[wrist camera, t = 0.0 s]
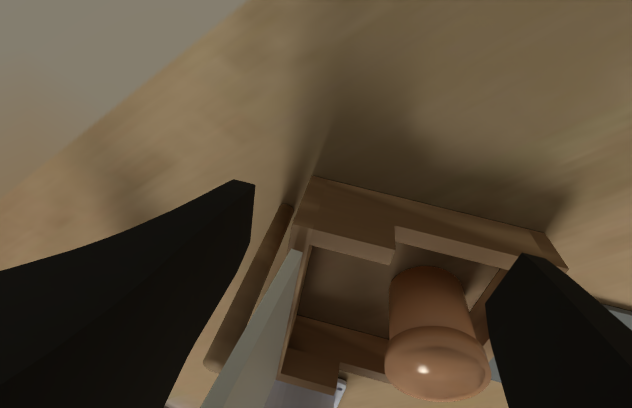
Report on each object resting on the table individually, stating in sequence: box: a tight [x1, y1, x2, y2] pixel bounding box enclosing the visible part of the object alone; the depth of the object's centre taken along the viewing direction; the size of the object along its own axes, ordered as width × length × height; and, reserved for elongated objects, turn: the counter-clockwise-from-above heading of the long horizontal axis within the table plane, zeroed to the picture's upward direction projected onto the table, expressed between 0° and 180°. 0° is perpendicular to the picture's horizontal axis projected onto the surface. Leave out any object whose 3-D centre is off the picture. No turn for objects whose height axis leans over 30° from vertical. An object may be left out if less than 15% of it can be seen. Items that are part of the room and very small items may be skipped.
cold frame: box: [203, 176, 569, 402], centre depth 19 cm, size 14×16×11 cm
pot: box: [385, 266, 491, 402], centre depth 21 cm, size 6×6×6 cm
